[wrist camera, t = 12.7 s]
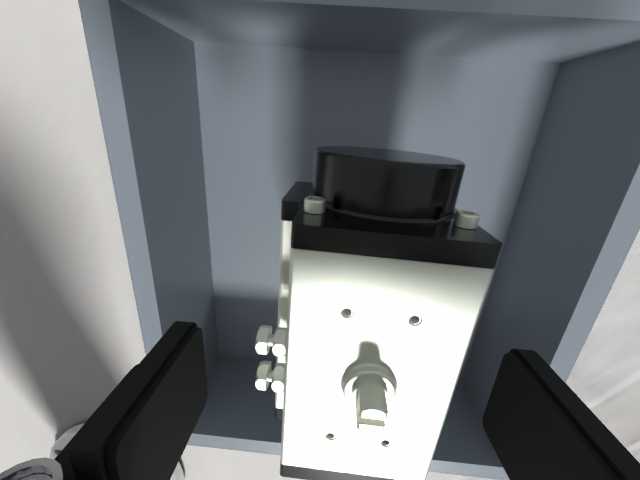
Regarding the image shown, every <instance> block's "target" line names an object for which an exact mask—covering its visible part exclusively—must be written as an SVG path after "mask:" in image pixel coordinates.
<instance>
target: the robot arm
mask: <svg viewBox="0 0 640 480" xmlns="http://www.w3.org/2000/svg"><path fill="white" fill-rule="evenodd" d="M207 395H208V391H207V379H206V367H205V356H204V344H203V332H202V329H201V328H198V327H197V324H196V323H195V322H184V321H176V322H174V323H173V324H172V326H171V327H170V328H169V329H168V330H167V332H166V333H165V334H164V335H163V336H162V337H161V339H160V340H159V341H158V342H157V343H156V345H155V346H154V347H153V348H152V349H151V351H150V352H149V353H148V354H147V355H146V356H145V358H144V359H143V360H142V361H141V362H140V364H138V365H136V366H134V367H133V368H132V369H131V370H130V371H129V373H128V374H127V375H126V376H125V377H124V378H123V380H122V381H121V382H120V383H119V384H118V385H117V387H116V388H115V389H114V390H113V391H112V392H111V394H110V395H109V396H108V397H107V398H106V399H105V401H104V402H103V403H102V404H101V405H100V406H99V408H98V409H97V410H96V411H95V412H94V413H93V415H92V416H91V417H90V418H89V419H88V420H87V422H86V423H82V424H79V425H76V426H74V427H72V428H70V429H69V430H67V431H66V432H65V433H64V434H63V435H62V436H61V437H60V438H59V439H58V440H57V441H56V442H55V444H54V445H53V447H52V449H51V453H50V459H49V458H38V459H32V460H29V461H26V462H23V463H20V464H17V465H15V466H14V467H12V468H10V469H8V470H6V471H4V472H2V473H1V474H0V480H184V474H183V469H182V467H181V465H180V463H179V460H180V458H181V455H182V453H183V451H184V449H185V447H186V445H187V443H188V441H189V439H190V436H191V434H192V432H193V430H194V428H195V426H196V424H197V422H198V420H199V417H200V415H201V413H202V411H203V409H204V407H205V404H206V401H207ZM483 427H484V430H485V432H486V434H487V436H488V438H489V440H490V442H491V444H492V446H493V448H494V450H495V452H496V454H497V456H498V458H499V460H500V462H501V464H502V466H503V468H504V470H505V472H506V474H507V476H508V478H509V480H640V463H639V462H638V461H637V460H636V459H635V458H634V457H633V456H632V455H631V454H630V452H629V451H628V450H627V449H626V448H625V447H624V446H623V445H622V444H621V443H620V442H619V441H618V439H617V438H616V437H615V436H614V435H613V434H612V433H611V432H610V431H609V430H608V429H607V428H606V426H605V425H604V424H603V423H602V422H601V421H600V420H599V419H598V418H597V417H596V416H595V415H594V414H593V412H592V411H591V410H590V409H589V408H588V407H587V406H586V405H585V404H584V403H583V402H582V401H581V399H580V398H579V397H578V396H577V395H576V394H575V393H574V392H573V391H572V390H571V389H570V388H569V386H568V385H567V384H566V383H565V382H564V381H563V380H562V379H561V378H560V377H559V376H558V375H557V373H556V372H555V371H554V370H553V369H552V368H551V367H550V366H549V365H548V364H547V363H546V362H545V361H544V359H543V358H542V357H541V356H540V355H539V354H538V353H537V352H536V351H533V350H526V349H511V350H510V351H509V353H506V354H504V356H503V359H502V362H501V365H500V368H499V371H498V374H497V377H496V379H495V382H494V385H493V388H492V391H491V394H490V397H489V400H488V403H487V406H486V409H485V412H484V415H483Z"/></svg>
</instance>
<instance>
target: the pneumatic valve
mask: <svg viewBox="0 0 640 480" xmlns="http://www.w3.org/2000/svg"><path fill="white" fill-rule="evenodd" d="M464 170H465V163H464V162H462V161H460V160H457V159H453V158H449V157H443V156H438V155H432V154H425V153H418V152H410V151H401V150H392V149H381V148H369V147H354V146H321V147H318V148H316V149H315V154H314V168H313V182H302V181H296V183H295V184H294V185H293V186H292V187H291V189H290V190H289V191H288V192H287V194H286V195H285V196H284V197H283V198H282V203H281V234H280V264H279V294H278V325H277V328H276V330H275V334H272V326H268V325H262V326H260V327H259V330H258V333H257V337H256V345H255V350H256V352H257V353H258V354H263V355H267V354H268V352H269V350H270V346H271V347H273V348H272V352H273V355H275V356H276V364H275V367H274V370H271V361H261V362H260V363H259V366H258V369H257V374H256V382H255V386H256V388H257V389H258V390H264V391H266V389H267V388H268V386H269V382H272V385H271V388H272V390H273V391H274V392H275V416H274V417H275V419H280V420H282V440H281V461H280V475H281V476H283V477H291V478H299V479H306V480H425V479H426V476H427V473H428V470H429V467H430V464H431V461H432V458H433V455H434V452H435V449H436V446H437V442H438V439H439V436H440V433H441V430H442V427H443V424H444V421H445V418H446V415H447V412H448V409H449V406H450V403H451V400H452V397H453V394H454V391H455V388H456V385H457V382H458V379H459V376H460V373H461V370H462V367H463V364H464V361H465V357H466V354H467V351H468V348H469V345H470V342H471V339H472V336H473V333H474V330H475V327H476V324H477V321H478V318H479V315H480V312H481V309H482V306H483V303H484V300H485V297H486V294H487V291H488V288H489V285H490V282H491V279H492V275H493V272H494V269H495V266H496V263H497V260H498V257H499V254H500V251H501V248H502V245H503V243H501V242H500V241H499V240H497V239H496V238H495V237H493V236H492V235H491V234H489V233H488V232H487V231H485V230H484V229H483V228H481V227H480V226H479V225H478V222H479V219H480V215H479V214H477V213H475V212H471V211H466V210H459V211H458V210H457V209H456V208H455V206H456V202H457V198H458V194H459V190H460V186H461V182H462V178H463V174H464Z"/></svg>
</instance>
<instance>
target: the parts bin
mask: <svg viewBox="0 0 640 480" xmlns="http://www.w3.org/2000/svg"><path fill="white" fill-rule="evenodd" d="M78 2H79V7H80V12H81V17H82V23H83V28H84V33H85V38H86V44H87V49H88V54H89V59H90V65H91V70H92V75H93V80H94V86H95V91H96V96H97V101H98V106H99V112H100V117H101V122H102V127H103V133H104V138H105V143H106V148H107V154H108V159H109V164H110V169H111V175H112V180H113V185H114V190H115V195H116V201H117V206H118V211H119V216H120V222H121V227H122V232H123V237H124V243H125V248H126V253H127V258H128V264H129V269H130V274H131V279H132V284H133V290H134V295H135V300H136V305H137V311H138V316H139V321H140V326H141V332H142V337H143V342H144V347H145V353H146V355H147V354H148V353H149V352H150V351H151V349H152V348H153V347H154V346H155V345H156V343H157V342H158V341H159V340H160V339H161V337H162V336H163V335H164V334H165V333H166V332H167V330H168V329H169V328H170V327H171V326H172V324H173V323H174V322H176V321H184V322H195V323H196V324H197V327H198V328H201V329H202V332H203V344H204V356H205V367H206V379H207V391H208V395H207V401H206V404H205V407H204V409H203V411H202V413H201V415H200V417H199V420H198V422H197V424H196V426H195V428H194V430H193V432H192V434H191V436H190V439H189V441H188V443H187V445H194V446H203V447H212V448H221V449H230V450H239V451H248V452H257V453H266V454H275V455H281V440H282V420H280V419H275V417H274V416H275V392H274V391H273V390H272V388H271V385H272V382H269V386H268V388H267V389H266V391H264V390H258V389H257V388H256V386H255V382H256V374H257V369H258V366H259V363H260V362H261V361H271V370H274V367H275V364H276V356H275V355H273V352H272V348H273V347H271V346H270V350H269V352H268V354H267V355H263V354H258V353H257V352H256V350H255V345H256V337H257V333H258V330H259V327H260V326H262V325H268V326H272V334H275V330H276V328H277V325H278V294H279V264H280V234H281V203H282V198H283V197H284V196H285V195H286V194H287V192H288V191H289V190H290V189H291V187H292V186H293V185H294V184H295V183H296V181H302V182H313V168H314V154H315V149H316V148H318V147H321V146H354V147H369V148H381V149H392V150H401V151H410V152H418V153H425V154H432V155H438V156H443V157H449V158H453V159H457V160H460V161H462V162H464V163H465V170H464V174H463V178H462V182H461V186H460V190H459V194H458V198H457V202H456V206H455V208H456V209H457V210H458V211H459V210H466V211H471V212H475V213H477V214H479V215H480V219H479V222H478V225H479V226H480V227H481V228H483V229H484V230H485V231H487V232H488V233H489V234H491V235H492V236H493V237H495V238H496V239H497V240H499V241H500V242H501V243H503V245H502V248H501V251H500V254H499V257H498V260H497V263H496V266H495V269H494V272H493V275H492V279H491V282H490V285H489V288H488V291H487V294H486V297H485V300H484V303H483V306H482V309H481V312H480V315H479V318H478V321H477V324H476V327H475V330H474V333H473V336H472V339H471V342H470V345H469V348H468V351H467V354H466V357H465V361H464V364H463V367H462V370H461V373H460V376H459V379H458V382H457V385H456V388H455V391H454V394H453V397H452V400H451V403H450V406H449V409H448V412H447V415H446V418H445V421H444V424H443V427H442V430H441V433H440V436H439V439H438V442H437V446H436V449H435V452H434V455H433V458H432V461H431V464H430V467H429V470H428V472H436V473H445V474H454V475H463V476H472V477H481V478H490V479H499V480H509V478H508V476H507V474H506V472H505V470H504V468H503V466H502V464H501V462H500V460H499V458H498V456H497V454H496V452H495V450H494V448H493V446H492V444H491V442H490V440H489V438H488V436H487V434H486V432H485V430H484V427H483V415H484V412H485V409H486V406H487V403H488V400H489V397H490V394H491V391H492V388H493V385H494V382H495V379H496V377H497V374H498V371H499V368H500V365H501V362H502V359H503V356H504V354H506V353H509V351H510V350H511V349H526V350H533V351H536V352H537V353H538V354H539V355H540V356H541V357H542V358H543V359H544V361H545V362H546V363H547V364H548V365H549V366H550V367H551V368H552V369H553V370H554V371H555V372H556V373H557V375H558V376H559V377H560V378H561V379H562V380H563V381H564V382H565V383H566V381H567V379H568V377H569V375H570V372H571V370H572V368H573V366H574V364H575V362H576V360H577V358H578V356H579V354H580V352H581V350H582V348H583V345H584V343H585V341H586V339H587V337H588V335H589V333H590V331H591V329H592V327H593V325H594V323H595V321H596V319H597V316H598V314H599V312H600V310H601V308H602V306H603V304H604V302H605V300H606V298H607V296H608V294H609V292H610V289H611V287H612V285H613V283H614V281H615V279H616V277H617V275H618V273H619V271H620V269H621V267H622V265H623V262H624V260H625V258H626V256H627V254H628V252H629V250H630V248H631V246H632V244H633V242H634V240H635V238H636V236H637V233H638V231H639V229H640V0H78Z"/></svg>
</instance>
